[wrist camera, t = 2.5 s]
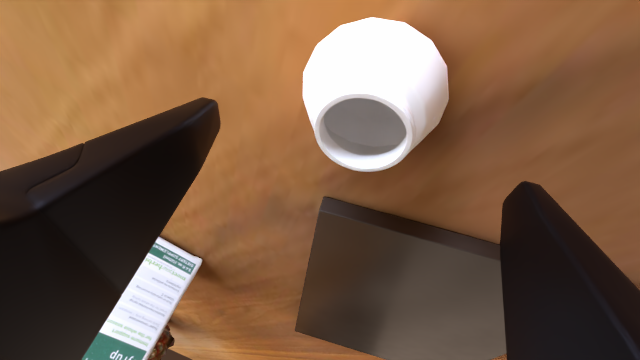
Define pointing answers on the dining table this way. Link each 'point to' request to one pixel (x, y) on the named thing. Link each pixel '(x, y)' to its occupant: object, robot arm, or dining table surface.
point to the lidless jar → (374, 92)
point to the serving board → (401, 288)
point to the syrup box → (145, 305)
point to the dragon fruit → (162, 345)
